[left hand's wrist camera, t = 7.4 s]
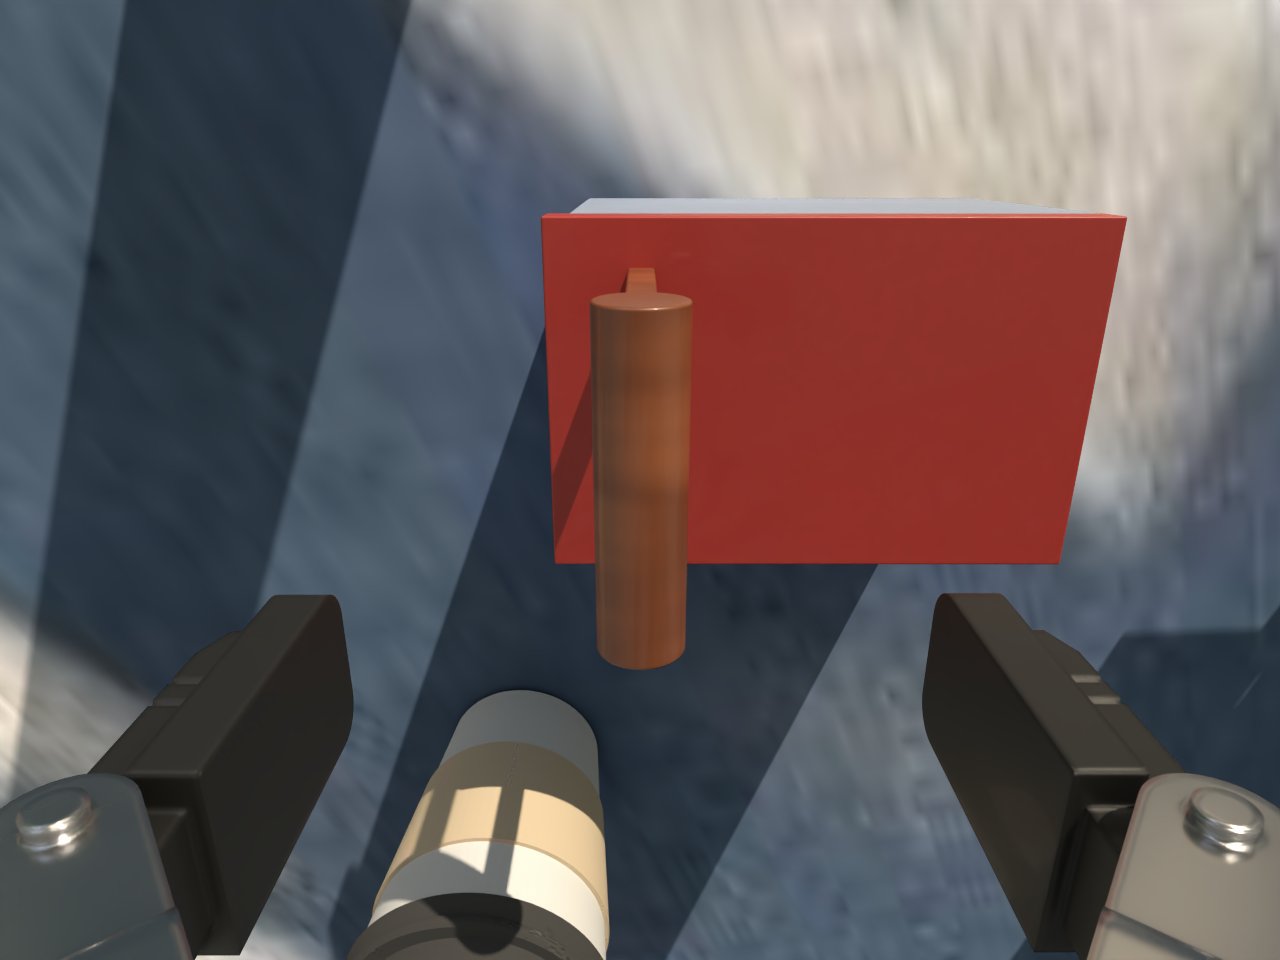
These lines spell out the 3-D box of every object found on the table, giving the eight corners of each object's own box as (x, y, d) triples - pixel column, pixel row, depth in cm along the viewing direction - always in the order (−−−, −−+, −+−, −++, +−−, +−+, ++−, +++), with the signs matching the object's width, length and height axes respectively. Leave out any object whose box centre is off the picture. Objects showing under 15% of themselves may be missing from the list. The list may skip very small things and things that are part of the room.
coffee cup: (539, 855, 42) (489, 1202, 28) (391, 757, 40) (257, 1079, 26) (660, 744, 40) (671, 1062, 26) (509, 633, 38) (432, 914, 24)
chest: (593, 449, 35) (577, 545, 26) (587, 198, 31) (567, 213, 23) (941, 450, 35) (1039, 545, 26) (975, 198, 31) (1102, 213, 23)
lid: (558, 546, 26) (521, 716, 18) (545, 213, 23) (493, 242, 15) (1041, 546, 26) (1216, 716, 18) (1102, 213, 23) (1353, 243, 15)
